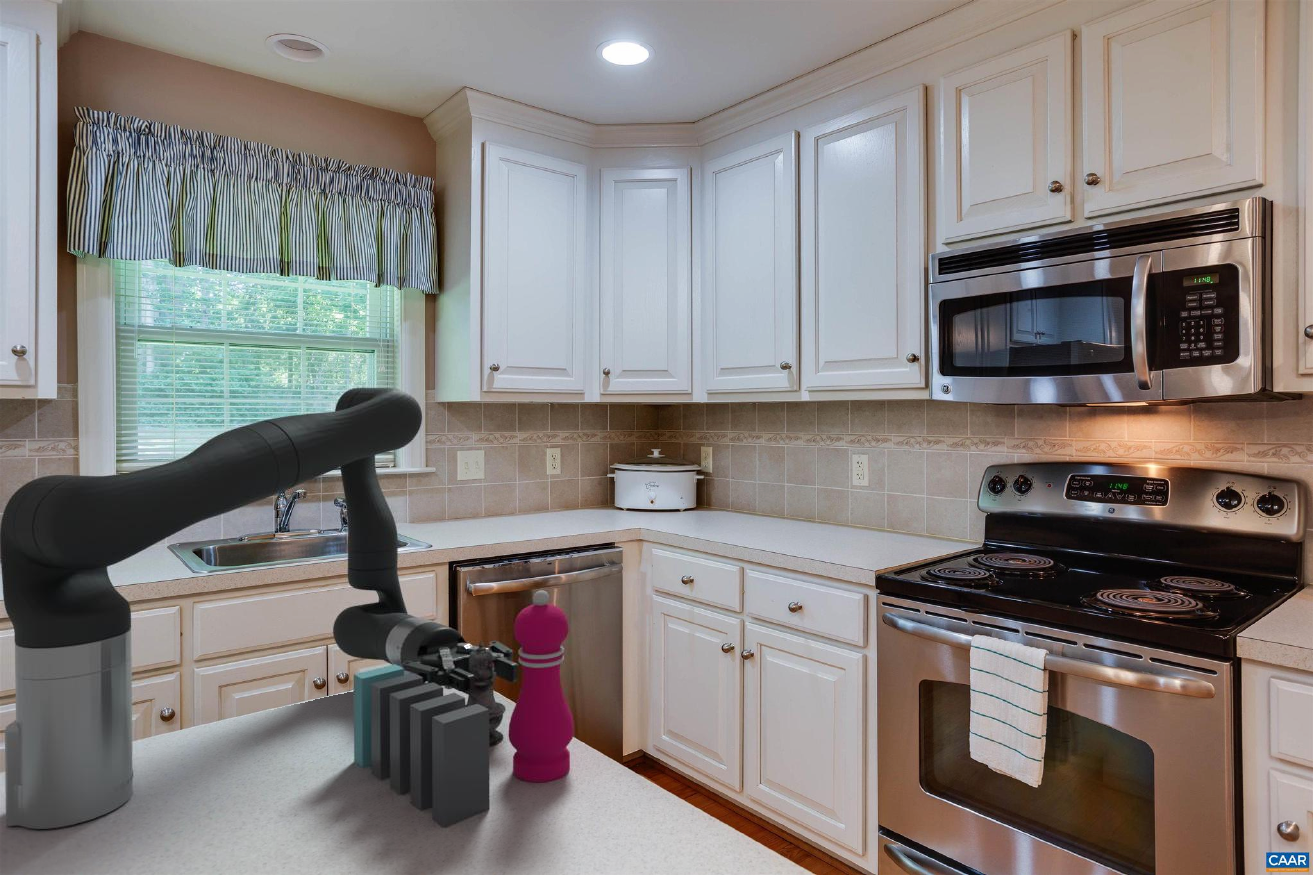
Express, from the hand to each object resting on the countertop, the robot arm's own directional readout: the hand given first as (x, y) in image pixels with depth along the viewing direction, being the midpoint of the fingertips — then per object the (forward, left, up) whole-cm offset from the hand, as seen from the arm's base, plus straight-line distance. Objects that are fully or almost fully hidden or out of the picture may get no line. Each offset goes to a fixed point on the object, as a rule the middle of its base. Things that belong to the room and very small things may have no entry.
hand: (494, 679), depth 90 cm
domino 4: (-6, -12, -8) cm, 15 cm away
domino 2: (-11, -4, -8) cm, 14 cm away
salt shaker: (-1, +2, -8) cm, 9 cm away
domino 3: (-8, -8, -8) cm, 14 cm away
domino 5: (-4, -15, -8) cm, 18 cm away
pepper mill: (+5, -8, -8) cm, 12 cm away
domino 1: (-13, 0, -8) cm, 15 cm away
